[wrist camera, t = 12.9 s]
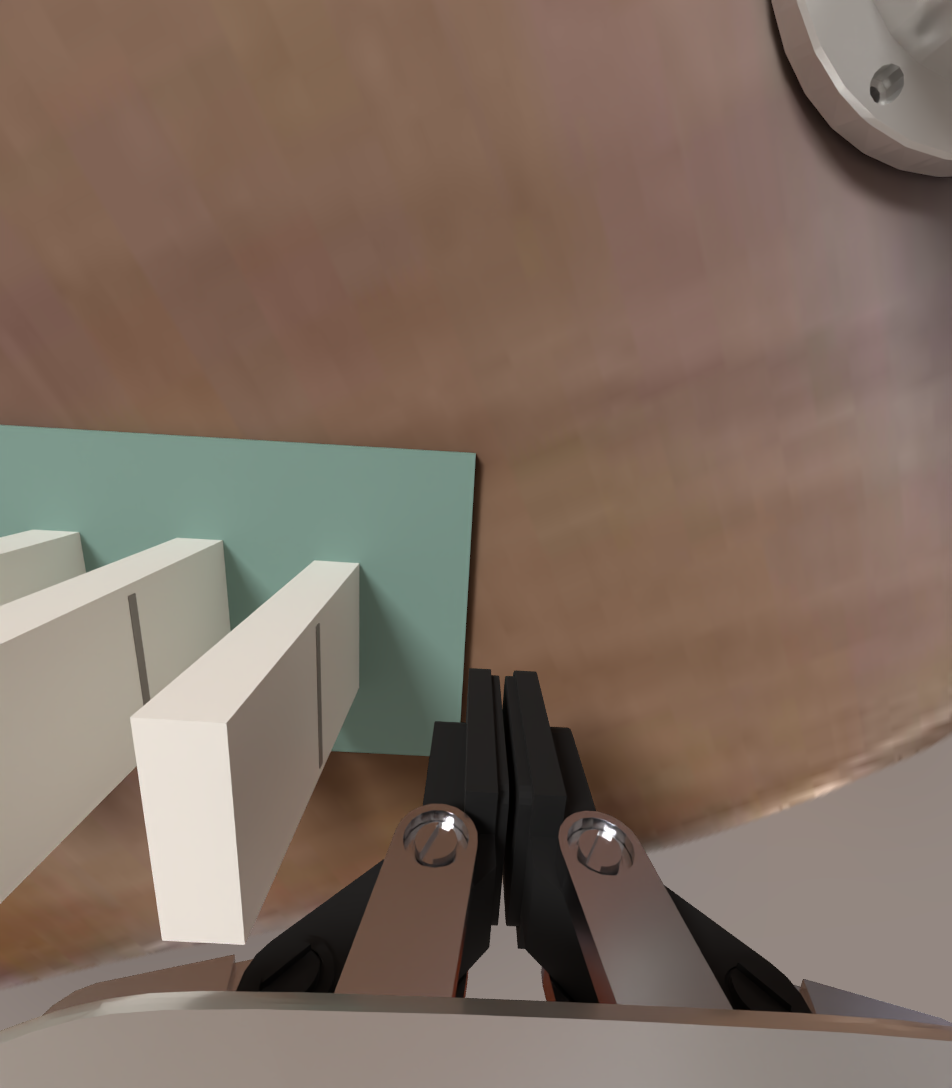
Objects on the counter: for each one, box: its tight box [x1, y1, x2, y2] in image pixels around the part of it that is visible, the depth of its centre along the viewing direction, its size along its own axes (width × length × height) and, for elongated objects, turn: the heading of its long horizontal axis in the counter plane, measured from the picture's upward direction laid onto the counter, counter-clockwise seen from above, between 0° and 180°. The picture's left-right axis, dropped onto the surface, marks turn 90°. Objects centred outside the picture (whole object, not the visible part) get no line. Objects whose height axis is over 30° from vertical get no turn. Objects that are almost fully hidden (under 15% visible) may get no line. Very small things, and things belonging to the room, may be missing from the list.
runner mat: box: [0, 425, 476, 756], centre depth 17 cm, size 30×12×1 cm, turn 87°
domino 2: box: [130, 560, 359, 945], centre depth 13 cm, size 2×5×9 cm, turn 176°
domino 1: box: [0, 538, 231, 903], centre depth 12 cm, size 2×5×9 cm, turn 176°
